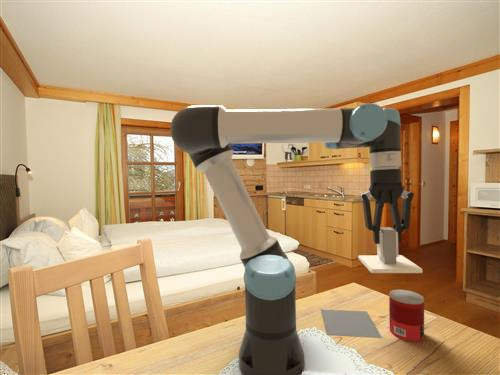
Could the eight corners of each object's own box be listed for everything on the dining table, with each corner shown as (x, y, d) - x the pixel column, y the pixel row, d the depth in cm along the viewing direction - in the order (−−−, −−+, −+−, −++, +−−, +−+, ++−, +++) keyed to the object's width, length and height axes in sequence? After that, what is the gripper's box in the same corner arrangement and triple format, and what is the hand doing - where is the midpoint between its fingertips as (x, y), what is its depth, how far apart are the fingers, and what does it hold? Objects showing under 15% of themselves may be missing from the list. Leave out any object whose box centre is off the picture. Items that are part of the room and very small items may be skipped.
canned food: (429, 346, 68) (429, 302, 68) (394, 343, 70) (394, 300, 69) (417, 329, 75) (417, 290, 75) (386, 326, 77) (385, 288, 77)
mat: (326, 337, 72) (326, 334, 72) (320, 311, 86) (320, 309, 86) (382, 340, 71) (382, 337, 70) (366, 314, 84) (366, 311, 84)
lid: (371, 273, 69) (370, 233, 68) (358, 258, 81) (357, 225, 80) (422, 273, 67) (421, 232, 67) (401, 258, 79) (400, 224, 79)
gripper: (357, 169, 70) (360, 259, 71) (424, 166, 68) (426, 259, 69) (350, 170, 78) (353, 252, 79) (410, 167, 76) (412, 251, 77)
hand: (387, 255), depth 74 cm, fingers closed on lid, 3 cm apart
